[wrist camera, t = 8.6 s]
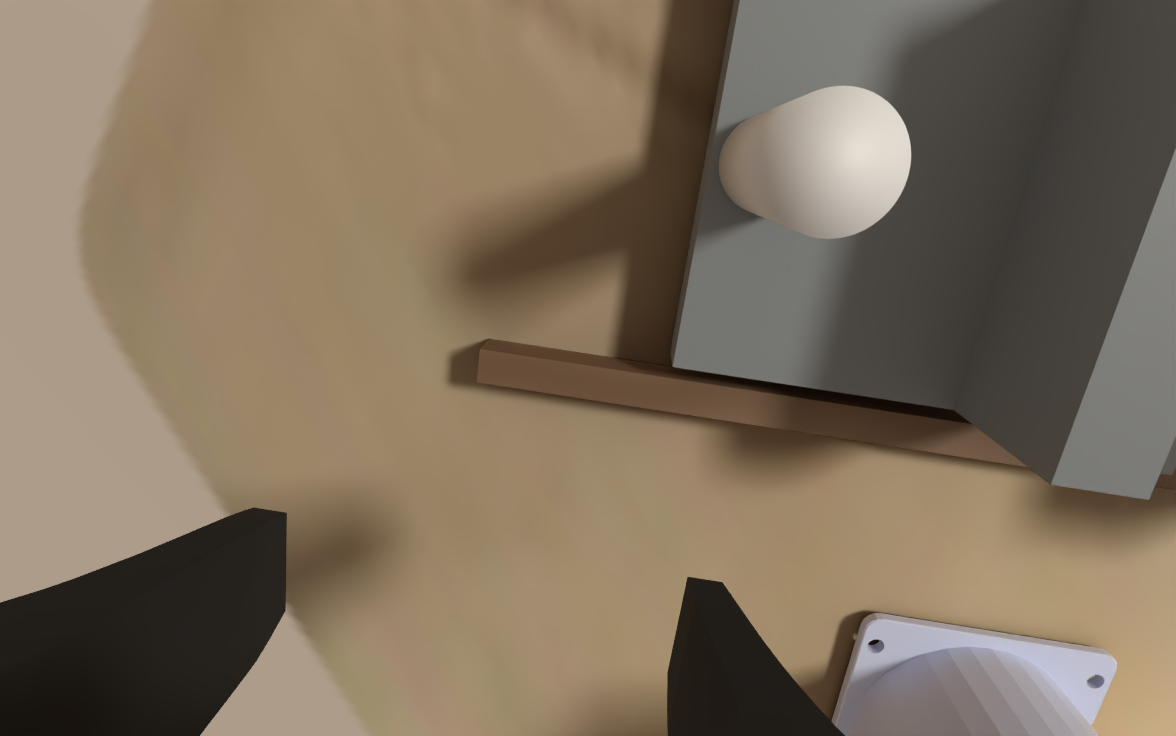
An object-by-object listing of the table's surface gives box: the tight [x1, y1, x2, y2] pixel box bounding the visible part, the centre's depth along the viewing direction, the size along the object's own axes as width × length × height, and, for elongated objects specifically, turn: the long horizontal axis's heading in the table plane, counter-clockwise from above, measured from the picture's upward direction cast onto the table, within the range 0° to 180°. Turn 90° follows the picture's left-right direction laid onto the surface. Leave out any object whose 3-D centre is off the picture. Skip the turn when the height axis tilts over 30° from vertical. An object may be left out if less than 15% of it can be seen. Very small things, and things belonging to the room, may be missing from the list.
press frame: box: [477, 339, 1176, 490], centre depth 15 cm, size 14×26×7 cm, turn 82°
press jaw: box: [670, 0, 1176, 500], centre depth 15 cm, size 11×10×8 cm
